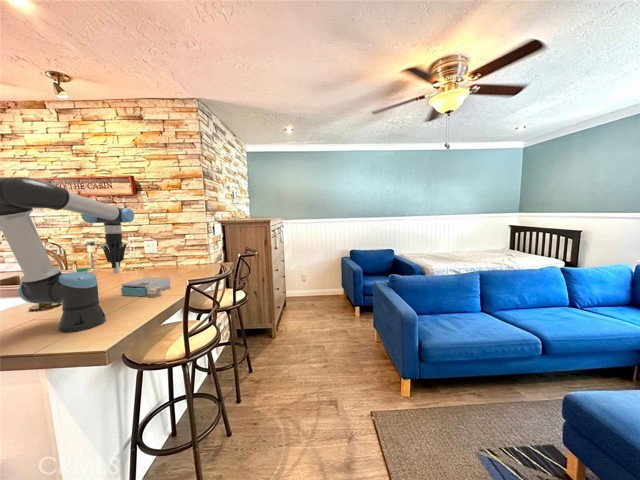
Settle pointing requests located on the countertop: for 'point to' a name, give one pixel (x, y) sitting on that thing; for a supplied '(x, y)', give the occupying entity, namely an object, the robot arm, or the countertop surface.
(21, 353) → the countertop surface
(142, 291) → the tray
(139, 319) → the countertop surface
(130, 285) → the box
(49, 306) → the burger
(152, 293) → the block
